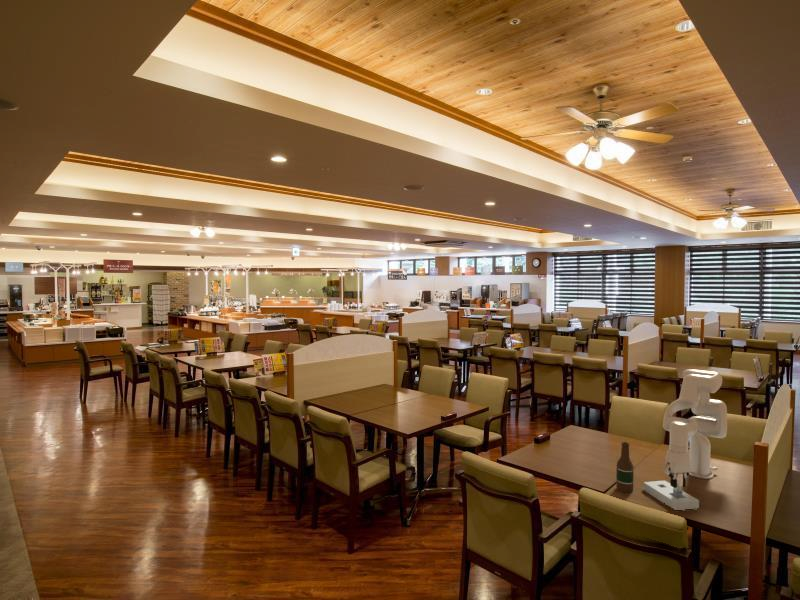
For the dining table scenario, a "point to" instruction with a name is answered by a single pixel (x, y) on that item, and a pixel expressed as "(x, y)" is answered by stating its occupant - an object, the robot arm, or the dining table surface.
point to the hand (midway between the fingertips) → (677, 486)
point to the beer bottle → (624, 470)
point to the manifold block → (670, 495)
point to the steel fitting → (679, 484)
